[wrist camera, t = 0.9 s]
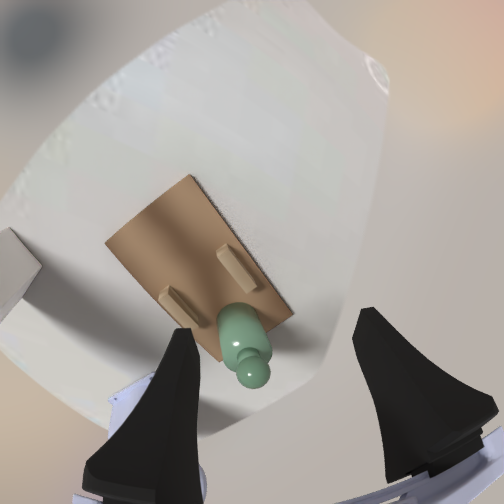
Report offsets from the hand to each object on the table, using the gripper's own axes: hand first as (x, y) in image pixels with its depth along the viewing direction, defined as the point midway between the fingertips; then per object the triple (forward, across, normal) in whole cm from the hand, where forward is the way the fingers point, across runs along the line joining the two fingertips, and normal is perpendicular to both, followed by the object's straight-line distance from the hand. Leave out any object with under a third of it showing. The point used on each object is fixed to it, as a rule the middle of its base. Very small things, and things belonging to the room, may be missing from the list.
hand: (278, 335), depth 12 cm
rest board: (+14, +5, +8) cm, 17 cm away
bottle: (+13, +2, +13) cm, 18 cm away
